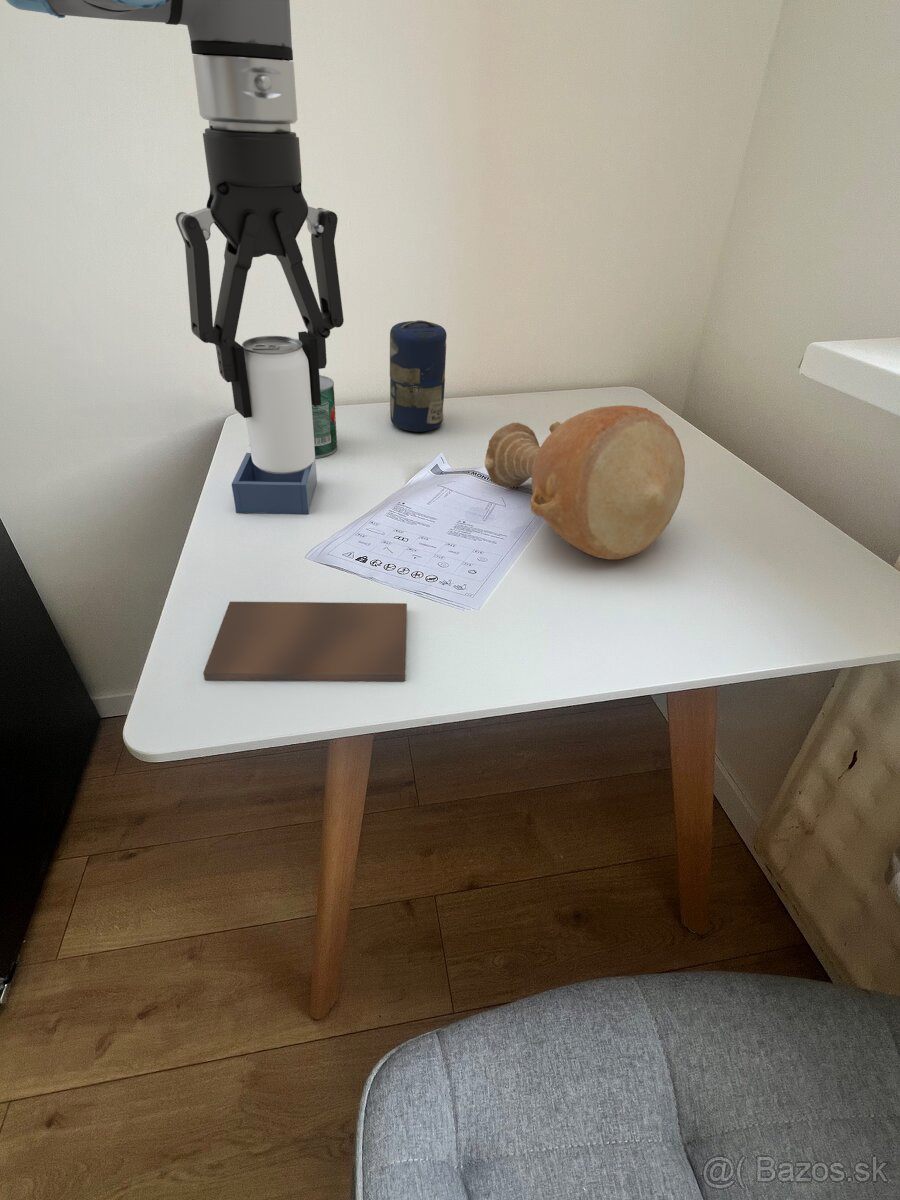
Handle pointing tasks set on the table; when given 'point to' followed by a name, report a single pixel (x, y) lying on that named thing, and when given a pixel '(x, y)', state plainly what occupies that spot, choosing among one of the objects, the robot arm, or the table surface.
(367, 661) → the board
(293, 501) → the holder
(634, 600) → the table surface
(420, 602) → the table surface
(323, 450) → the canned tomato
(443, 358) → the canister
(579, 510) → the jug
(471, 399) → the table surface
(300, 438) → the can
